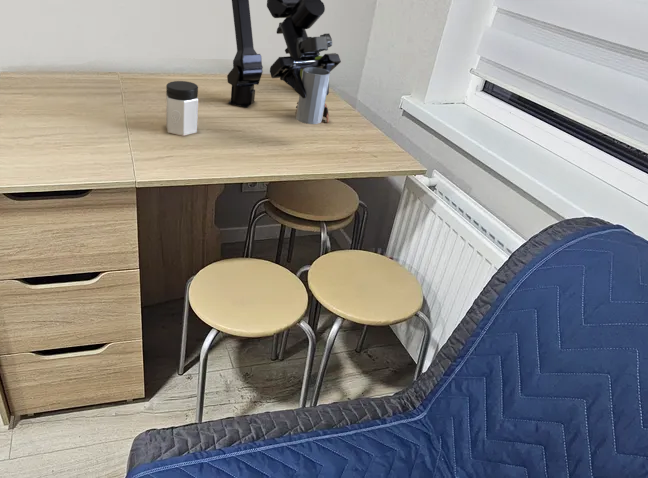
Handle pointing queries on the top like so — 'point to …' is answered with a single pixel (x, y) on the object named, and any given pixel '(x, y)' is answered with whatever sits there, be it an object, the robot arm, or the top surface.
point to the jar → (181, 107)
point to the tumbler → (313, 95)
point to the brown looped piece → (325, 113)
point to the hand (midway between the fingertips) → (316, 96)
